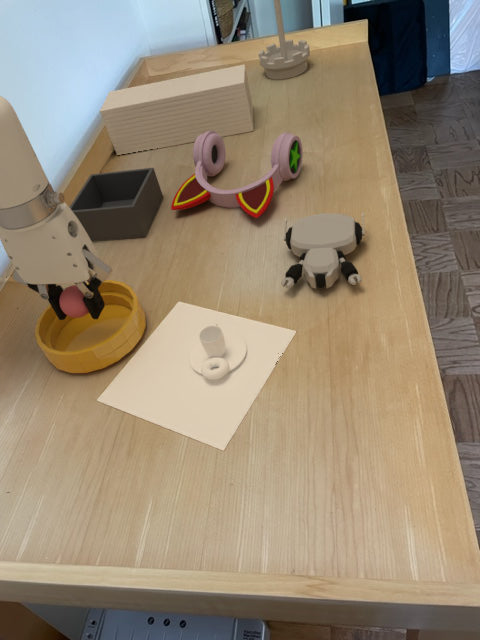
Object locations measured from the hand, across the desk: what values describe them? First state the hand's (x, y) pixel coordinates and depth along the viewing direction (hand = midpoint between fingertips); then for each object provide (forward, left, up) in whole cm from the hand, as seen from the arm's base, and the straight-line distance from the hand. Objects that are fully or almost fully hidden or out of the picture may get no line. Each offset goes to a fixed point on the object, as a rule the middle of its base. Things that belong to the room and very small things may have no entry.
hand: (82, 311), depth 77 cm
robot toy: (+33, +14, -5) cm, 37 cm away
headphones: (+16, +37, -5) cm, 41 cm away
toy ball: (0, 0, +2) cm, 2 cm away
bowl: (0, 0, -5) cm, 5 cm away
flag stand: (+20, +95, -5) cm, 97 cm away
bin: (-6, +31, -5) cm, 32 cm away
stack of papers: (-1, +65, -5) cm, 65 cm away
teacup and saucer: (+17, -6, -5) cm, 19 cm away
